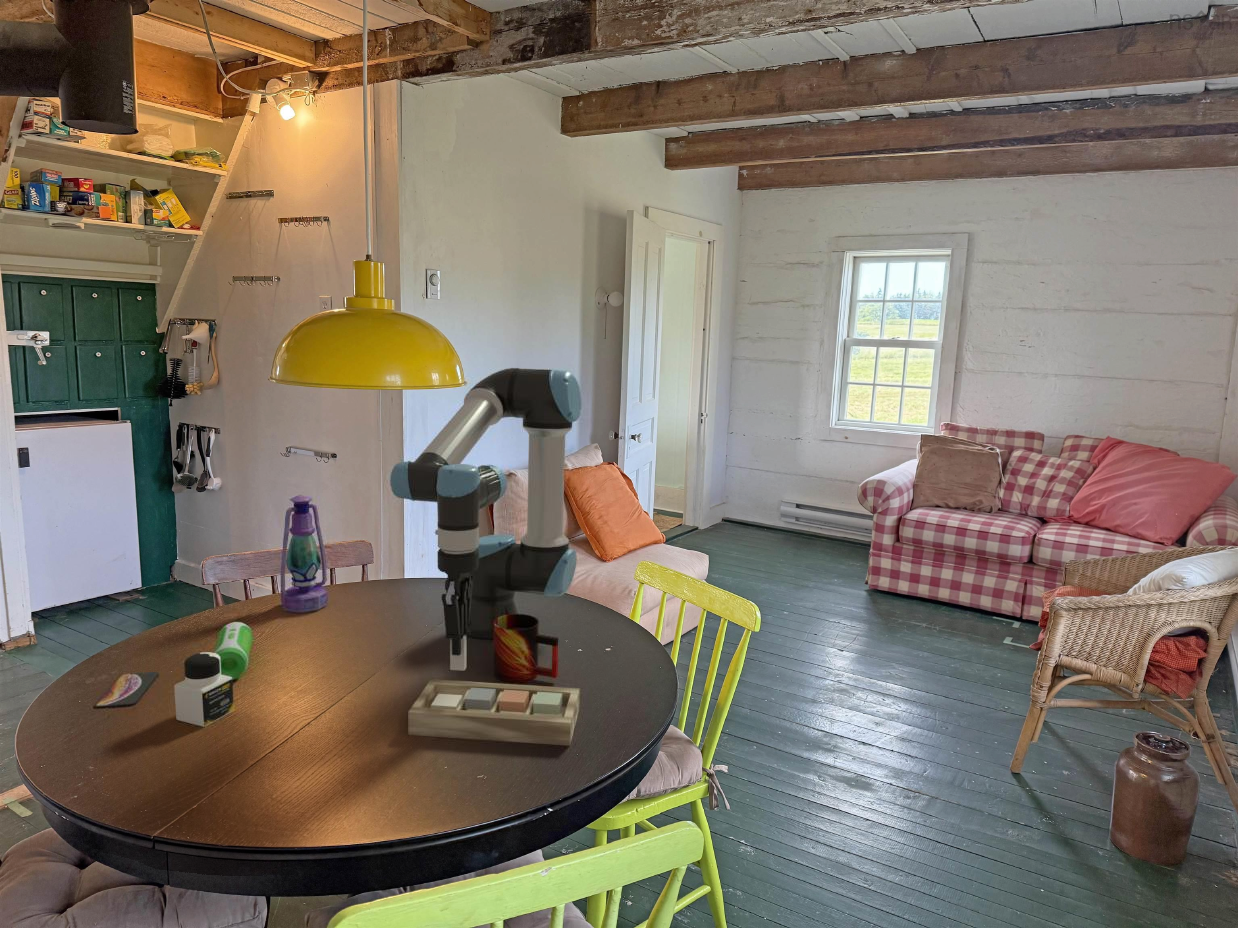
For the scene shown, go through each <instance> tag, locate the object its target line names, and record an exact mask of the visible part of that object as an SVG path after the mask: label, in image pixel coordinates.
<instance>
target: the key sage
mask: <svg viewBox="0 0 1238 928" xmlns="http://www.w3.org/2000/svg"><path fill="white" fill-rule="evenodd" d="M561 705H562V693H549V692H537V695H536V697H535V700H534V703H533V713H538V714H553V715H559V712H560V708H561Z"/></svg>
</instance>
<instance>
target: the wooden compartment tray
mask: <svg viewBox="0 0 1238 928" xmlns="http://www.w3.org/2000/svg"><path fill="white" fill-rule="evenodd" d="M471 688H486V689H496V699H495V701H494V703H493V705H492V707H491V709H490V710H476V709H465V698H466V696H467V694H468V692H469V691H470V689H471ZM504 690H517V691H529V702H528V704H527V707H526V709H525V712H524V713H522V712H507V711H499V700H500V698H501V696H502V694H503V692H504ZM537 692H549V693H562V705H561V708H560V712H559V715H553V714H538V713H533V703H534V700H535V697H536V695H537ZM580 692H581V688H576V687H559V686H546V685H545V686H544V685H530V684H529V685H527V684H509V683H497V682H495V683H494V682H481V681H480V682H479V681H468V680H467V681H465V680H451V679H448V680H447V679H435V678H434V679H432V678H431V679H430V680H429V681H428V683H427V684H426V686H425V687H424V688H423V690H422V692H421V693H420V695H419V696H418V697H417V699H416V700H415V701H414V702H413V704H412V706H411V708H410V709H409V710H408V712H407V713H408V715H407V716H408V717H407V720H408V725H407V727H408V730H407V731H408V735H409V736H419V737H434V738H435V737H437V738H452V739H465V740H466V739H467V740H479V741H492V742H493V741H497V742H509V743H510V742H512V743H523V744H524V743H525V744H526V743H527V744H540V745H552V746H553V745H554V746H567V747H570V746H571V744H572V739H573V735H574V732H575V727H576V724H577V719H578V716H579V712H580V696H581V695H580ZM438 694H451V695H463V699H462V701H461V703H460V704H459V706H458V708H457V710H449V709H434V708H431V704H432V703H433V701H434V700H435V698H436V697H437V695H438Z"/></svg>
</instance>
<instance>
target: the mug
mask: <svg viewBox="0 0 1238 928" xmlns="http://www.w3.org/2000/svg"><path fill="white" fill-rule="evenodd" d="M539 623H540V620H539V619H538V618H537V617H535V616H533V615H530V614H522V613H520V614H509V615H504V616H501V617H498V618H497V619H495V620H494V639H493V666H492V667H493V674H492V675H493V678H494V680H496V681H498V682H500V683H502V684H515V685H522V684H526V683H529V682H532V681H534V680H535V679H537V678H538V676H542V677H547V678H548V677H549V678H552V679H557V678H558V677H559V660H558V659H559V637H557V636H556V637H555V636H550V635H543V634H539V631H540V624H539ZM539 644H541V645H547V646H551V668H549V667H544V666H539Z"/></svg>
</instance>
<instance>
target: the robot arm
mask: <svg viewBox="0 0 1238 928" xmlns="http://www.w3.org/2000/svg"><path fill="white" fill-rule="evenodd" d="M581 410H582V395H581V389H580V385H579V382H578V380H577V378H576V377H575V375H574V374H573V373H571V372H570V371H566V370H559V369H543V368H542V369H536V368H519V367H508V368H504V369H501V370H499V371H496V372H494V373H491V374H489V375H487V376H486V377H485V378H483V379H481V380H480V381H479V382H477V383H476V384H475V385H474V386H473V387H472V388H471V389H470V390H469V391H467V393H466V394H465V396H464V399H463V404H462V406H461V407H460V408H459V409H458V410H457V411H456V412H455V414H454V415H453V416H452V417H451V419H450V420H449V421H448V423H446V424H445V425H444V426H443V428H442V429H441V430H440V431H439V433H438V434H436V436H435V437H434V439H432V440H431V442H430V443H429V444H428V445H427V446H426V448H425V449H423V451H422V453H420V455H419V456H418V457H417V458H415V460H414V461H411V460H407V461H399V462H397V463H396V464H395V465H394V466H393V468H392V469H391V470H392V471H391V473H390V477H389V478H390V479H389V480H390V481H389V482H390V483H389V484H390V489H391V493H392V494H393V495H394V496H395V497H396V498H399V499H405V500H410V501H414V502H416V501H417V502H429V503H430V502H431V503H436V504H437V529H435V532H434V533H435V535H436V536H437V547H438V548H439V549H438V551H437V569H438V570H439V572H441V573H445V574H446V576H447V577H446V580H445V582H444V589H445V592H446V593H442V594H441V602H442V605H443V614H444V615H443V616H444V625H445V636H444V637H445V639H448V640H449V653H450V654H449V659H450V661H449V665H450V667H449V668H450V669H449V670H451V671H465V670H466V669H467V636H468V637H472V638H475V639H486V640H488V639H489V640H494V620H495V619H497V618H498V617H501V616H504V615H509V614H521V613H520V611H519V607H518V603H517V600H516V597H515V593H516V592H517V593H522V594H523V593H525V594H530V595H538V596H543V597H561V596H564V594H566V593H567V591H568V590H569V588H570V587H571V585H572V582H573V579H574V577H575V573H576V568H577V560H578V558H577V552H576V550H575V549H573V548H570V547H569V544H570V541H569V540H570V539H569V538H568V537H567V536H566V535H565V534H564V501H565V500H564V499H565V497H564V496H565V493H564V492H565V462H566V461H565V460H566V459H565V457H566V456H565V455H566V435H567V434H568V433H569V432H570V431H571V430H572V429H573V423H574V422H576V421H578V420H579V419H580V416H581ZM504 418H505V419H506V418H515V419H516V418H517V419H522V429H524V430H525V431H526V433H528V465H527V467H528V469H527V509H526V511H527V512H526V513H527V518H526V519H527V521H526V524H527V525H526V533H525V534H524V535H523V536H522V537H521V538H520V543H517V540H516V537H515V536H514V535H511V534H508V533H507V534H506V533H504V534H503V533H501V534H490V535H484V536H481V537H480V526H479V525H480V523H479V521H480V520H479V519H480V510H481V509H483V508H485V507H487V506H491V504H492V505H493V504H495V503H496V502H497V501H498V500H500V499H502V497H503V496H504V495H505V493H506V491H507V488H508V480H507V479H508V478H507V477H506V474H505V473H504V471H503V470H502V469H501V468H500V467H498V466H496V465H493V464H486V465H484V464H483V465H482V464H481V465H479V466H475V465H473V464H468V463H467V464H466V463H465V464H464V463H463V461H464V460H465V458H466V457H467V456H468V454H469V453H470V452H471V451H472V450H473V448H474V447H475V445H476V444H477V443H478V441H480V439H481V438H482V436H484V434H485V433H486V432H487V430H488V429H489V428H490V426H494V425H496V424H498V423H499V422H500V421H501V420H502V419H504Z"/></svg>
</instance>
